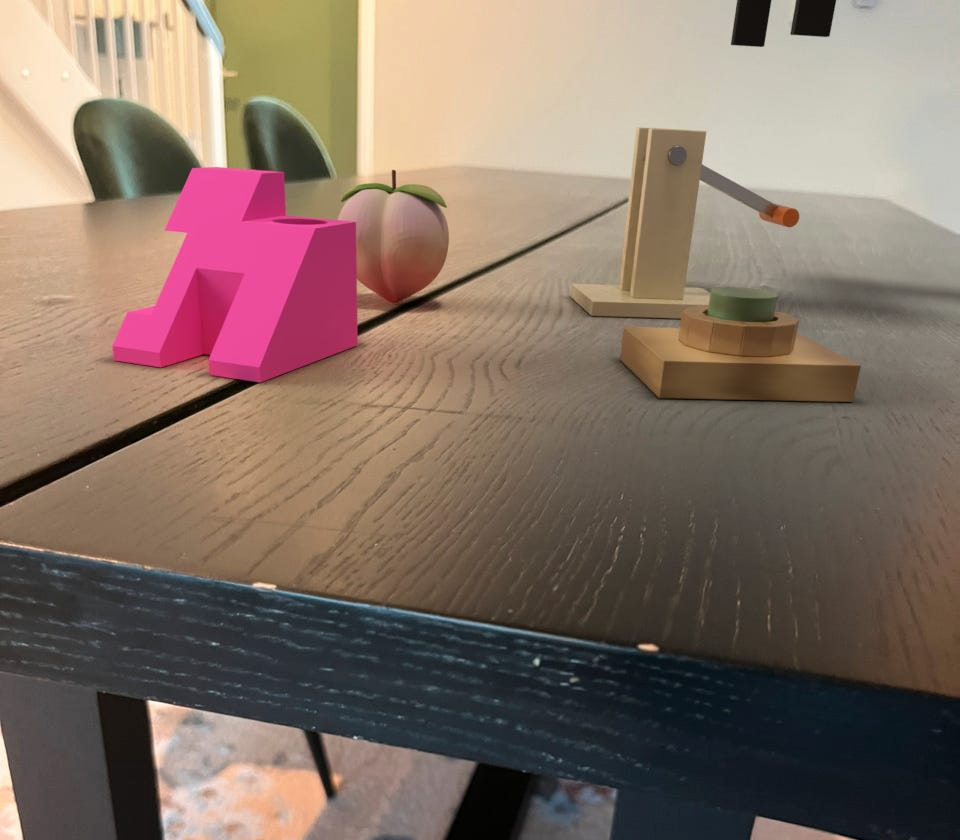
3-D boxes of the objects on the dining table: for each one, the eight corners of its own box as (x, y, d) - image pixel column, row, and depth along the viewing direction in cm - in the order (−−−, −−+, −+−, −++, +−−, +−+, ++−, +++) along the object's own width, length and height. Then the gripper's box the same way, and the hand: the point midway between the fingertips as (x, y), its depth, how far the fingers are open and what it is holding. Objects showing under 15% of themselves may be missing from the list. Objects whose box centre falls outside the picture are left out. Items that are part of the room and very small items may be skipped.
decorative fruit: (461, 300, 84) (466, 171, 79) (434, 315, 77) (437, 175, 72) (358, 290, 86) (357, 164, 81) (322, 305, 79) (318, 167, 74)
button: (758, 316, 62) (763, 287, 62) (782, 329, 59) (787, 298, 58) (698, 314, 62) (702, 286, 61) (718, 327, 58) (723, 296, 58)
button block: (789, 363, 67) (801, 303, 65) (853, 402, 58) (868, 333, 57) (619, 359, 66) (626, 298, 64) (658, 398, 57) (668, 328, 55)
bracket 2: (699, 301, 89) (724, 131, 83) (732, 320, 81) (762, 134, 75) (570, 297, 88) (585, 124, 81) (591, 316, 80) (609, 126, 73)
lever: (766, 228, 85) (781, 201, 84) (790, 236, 80) (806, 207, 79) (637, 159, 81) (651, 130, 80) (654, 162, 76) (669, 131, 76)
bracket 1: (228, 327, 69) (216, 167, 64) (357, 345, 66) (355, 177, 61) (114, 360, 59) (89, 172, 54) (260, 382, 56) (248, 185, 51)
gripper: (725, -265, 78) (686, 46, 88) (862, -409, 56) (789, 26, 66) (815, -256, 79) (766, 51, 89) (985, -395, 57) (894, 33, 67)
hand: (776, 41), depth 77 cm, fingers open, 13 cm apart
